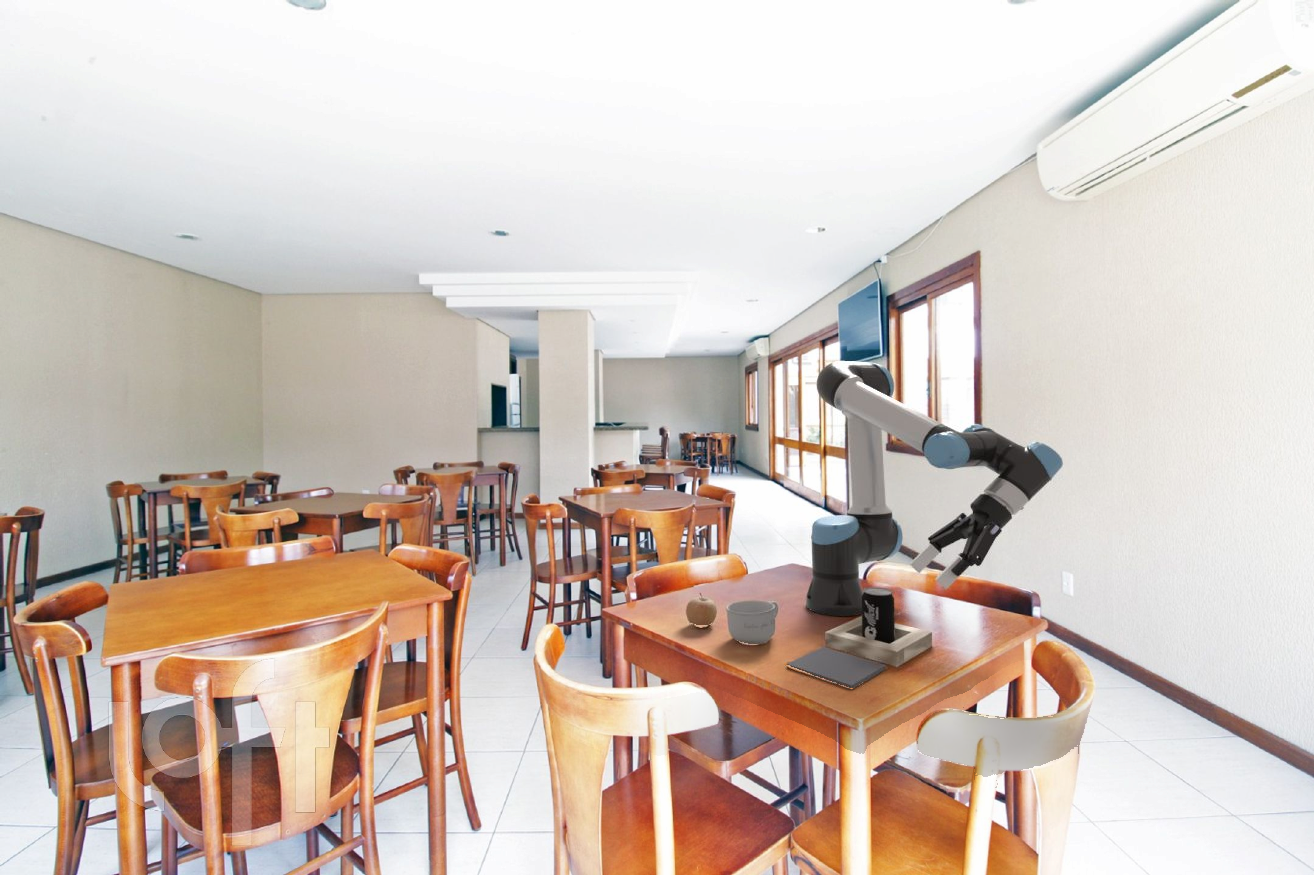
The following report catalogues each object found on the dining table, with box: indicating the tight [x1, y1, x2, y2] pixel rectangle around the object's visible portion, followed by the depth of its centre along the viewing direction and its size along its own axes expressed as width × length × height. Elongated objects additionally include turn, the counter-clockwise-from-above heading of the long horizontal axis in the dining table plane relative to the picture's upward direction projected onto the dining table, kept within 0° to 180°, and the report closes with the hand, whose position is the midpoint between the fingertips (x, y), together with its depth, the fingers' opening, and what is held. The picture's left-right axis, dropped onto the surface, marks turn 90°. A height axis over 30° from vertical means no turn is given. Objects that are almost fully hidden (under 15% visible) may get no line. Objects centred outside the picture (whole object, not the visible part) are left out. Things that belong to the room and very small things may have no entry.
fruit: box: [685, 592, 718, 625], centre depth 144 cm, size 8×7×8 cm
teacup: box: [725, 599, 779, 645], centre depth 134 cm, size 14×11×8 cm
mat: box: [786, 646, 887, 689], centre depth 117 cm, size 14×13×1 cm
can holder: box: [824, 615, 933, 668], centre depth 129 cm, size 16×16×3 cm
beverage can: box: [861, 586, 896, 644], centre depth 128 cm, size 7×7×12 cm
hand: (926, 576), depth 128 cm, fingers open, 13 cm apart
